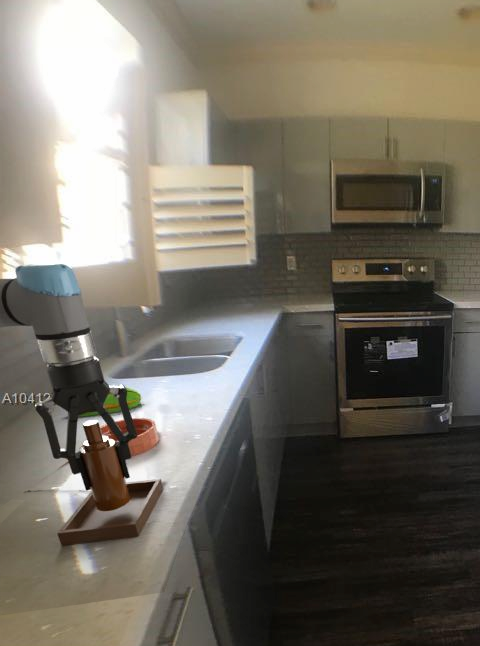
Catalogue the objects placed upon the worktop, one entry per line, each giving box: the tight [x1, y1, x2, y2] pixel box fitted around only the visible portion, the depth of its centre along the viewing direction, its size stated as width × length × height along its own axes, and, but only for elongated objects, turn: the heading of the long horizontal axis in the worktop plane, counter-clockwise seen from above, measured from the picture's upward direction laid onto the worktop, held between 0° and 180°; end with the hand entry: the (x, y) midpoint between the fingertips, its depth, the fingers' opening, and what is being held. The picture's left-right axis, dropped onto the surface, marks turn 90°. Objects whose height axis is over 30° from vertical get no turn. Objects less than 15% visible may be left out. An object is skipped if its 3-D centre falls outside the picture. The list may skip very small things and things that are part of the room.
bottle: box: [78, 419, 130, 511], centre depth 83 cm, size 6×6×16 cm
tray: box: [56, 478, 164, 547], centre depth 87 cm, size 16×13×3 cm
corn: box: [66, 387, 142, 418], centre depth 135 cm, size 7×8×20 cm
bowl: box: [100, 417, 160, 457], centre depth 113 cm, size 14×14×5 cm
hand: (107, 480), depth 84 cm, fingers closed on bottle, 6 cm apart
